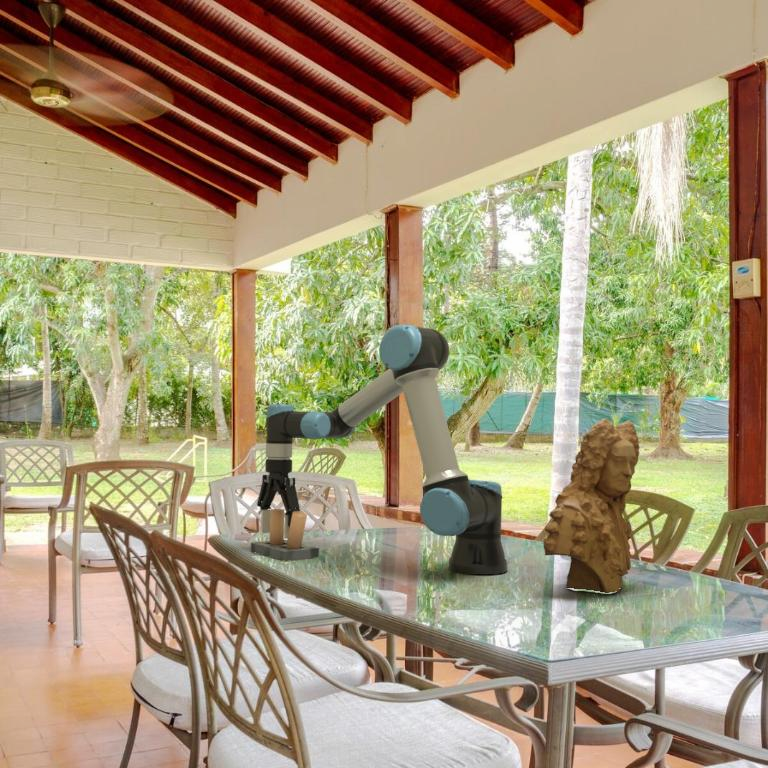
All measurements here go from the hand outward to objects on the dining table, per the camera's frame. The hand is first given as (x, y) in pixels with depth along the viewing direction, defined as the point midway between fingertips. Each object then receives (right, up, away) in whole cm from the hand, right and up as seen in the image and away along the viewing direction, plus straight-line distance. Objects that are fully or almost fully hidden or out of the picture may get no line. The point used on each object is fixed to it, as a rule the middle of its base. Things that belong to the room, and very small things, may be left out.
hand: (277, 535), depth 244 cm
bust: (+80, -5, -42) cm, 90 cm away
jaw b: (0, -5, 0) cm, 5 cm away
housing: (+2, -5, -3) cm, 6 cm away
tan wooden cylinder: (+5, -4, -6) cm, 9 cm away
